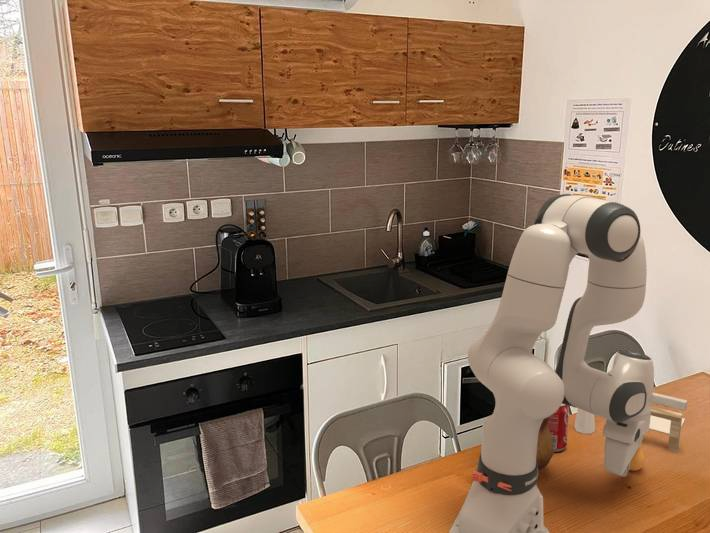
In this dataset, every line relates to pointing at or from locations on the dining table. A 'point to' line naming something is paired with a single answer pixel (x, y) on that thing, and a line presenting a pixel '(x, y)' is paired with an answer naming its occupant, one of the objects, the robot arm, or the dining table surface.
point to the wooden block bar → (669, 401)
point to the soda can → (559, 427)
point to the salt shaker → (584, 422)
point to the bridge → (674, 427)
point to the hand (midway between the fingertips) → (623, 473)
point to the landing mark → (661, 424)
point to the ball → (637, 460)
